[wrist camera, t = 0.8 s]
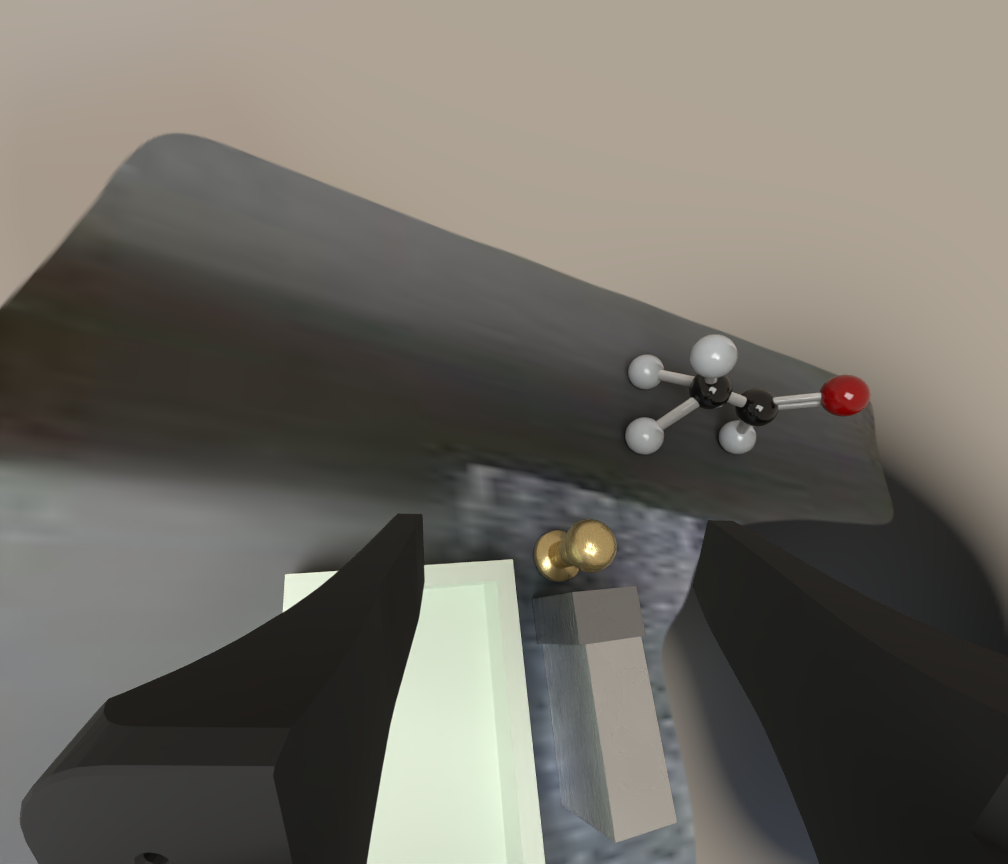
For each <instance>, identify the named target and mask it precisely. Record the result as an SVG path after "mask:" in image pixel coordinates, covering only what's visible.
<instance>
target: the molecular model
mask: <svg viewBox="0 0 1008 864" xmlns="http://www.w3.org/2000/svg"><path fill="white" fill-rule="evenodd" d="M737 355H738V354H737V349H736V346H735V344H734V343H733V342H732V341H731V340H730V339H729V338H727V337H725V336H723V335H717V334H713V335H708V336H705V337H703V338H701V339H700V340H698V341H697V342H696V343H695V345H694V346H693V348H692V350H691V353H690V363H691V366H692V368H693V369H694V371H695V372H696V373H697V374H698V375H696V376H695V377H694V376H689V375H685V374H680V373H675V372H670V371H665V370H664V366H663V364H662V362H661V361H660V360H659V359H658V358H657V357H655V356H653V355H649V354H645V355H640V356H638V357H636V358H635V359H634V360H633V361H632V362H631V364H630V366H629V369H628V376H629V379H630V381H631V383H632V384H633V385H634V386H636V387H637V388H640V389H651V388H654V387H656V386H657V385H658V384H659V383H660V382H661V381H665V382H669V383H674V384H678V385H683V386H687V387H690V388H689V393H690V397H691V398H689V399H688V400H687V401H685V402H684V403H682V404H681V405H679V406H678V407H676V408H675V409H673V410H672V411H670V412H669V413H667V414H666V415H664V416H663V417H661V418H660V419H659V420H657V421H655V420H654V419H651V418H647V417H642V418H638V419H635V420H634V421H632V422H631V423H630V424H629V425H628V427H627V429H626V432H625V440H626V443H627V445H628V446H629V448H630V449H631V450H632V451H634V452H636V453H638V454H642V455H647V454H651V453H654V452H655V451H657V450H658V449H659V448H660V447H661V445H662V443H663V440H664V432H663V430H664V429H666V428H667V427H669V426H670V425H672V424H673V423H675V422H676V421H678V420H679V419H681V418H682V417H684V416H685V415H687V414H688V413H690V412H691V411H693V410H694V409H696V408H697V407H701V408H704V409H716V408H719V407H721V406H723V405H724V404H725V403H726V402H727V403H730V404H732V405H735V410H736V414H737V416H738V418H739V419H740V420H734V421H730V422H728V423H726V424H725V425H724V426H723V427H722V428H721V430H720V432H719V443H720V445H721V446H722V448H723V449H724V450H726V451H727V452H729V453H732V454H743V453H746V452H748V451H749V450H751V449H752V448H753V446H754V445H755V443H756V432H755V430H754V428H753V427H752V426H763V425H766V424H768V423H770V422H771V421H772V420H773V419H774V418H775V417H776V415H777V413H778V410H785V409H797V408H808V407H820V406H822V407H823V408H824V409H825V410H826V411H828V412H829V413H831V414H833V415H837V416H851V415H854V414H857V413H859V412H860V411H862V410H863V409H864V408H865V407H866V406H867V405H868V403H869V400H870V396H871V393H870V389H869V387H868V385H867V384H866V382H865V381H863V380H862V379H860V378H858V377H856V376H853V375H839V376H836V377H833V378H831V379H829V380H828V381H827V382H826V383H825V384H824V385H823V386H822V388H821V390H820V393H811V394H802V395H792V396H783V397H775V396H774V395H773V394H772V393H771V392H769V391H768V390H765V389H761V388H755V389H750V390H747V391H745V392H744V393H743V394H741V395H740V394H737V393H734V392H732V384H731V381H730V379H729V378H728V377H727V376H726V374H727V373H729V372H730V371H731V370H732V369H733V367H734V366H735V364H736V361H737Z"/></svg>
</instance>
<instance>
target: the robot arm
mask: <svg viewBox="0 0 1008 864" xmlns="http://www.w3.org/2000/svg"><path fill="white" fill-rule="evenodd" d="M424 583H425V576H424V547H423V518H422V514H397V515H396V516H395V517H394V518H393V519H392V520H391V521H390V522H389V523H388V524H387V525H386V526H385V527H384V528H383V529H382V530H381V531H380V532H379V533H378V534H377V535H376V536H375V537H374V538H373V539H372V540H371V541H370V542H369V543H368V544H367V545H366V546H365V547H364V548H363V549H362V550H361V551H360V552H359V553H358V554H357V555H355V556H354V557H353V558H352V559H351V560H350V561H349V562H348V563H347V564H346V565H345V566H343V567H342V568H341V569H340V570H339V571H338V572H336V573H335V574H334V575H333V576H332V577H331V578H329V579H328V580H327V581H326V582H325V583H323V584H322V585H321V586H320V587H318V588H317V589H316V590H314V591H313V592H312V593H310V594H309V595H308V596H306V597H305V598H303V599H302V600H301V601H299V602H298V603H296V604H295V605H293V606H292V607H291V608H289V609H287V610H286V611H284V612H283V613H281V614H280V615H278V616H276V617H275V618H273V619H271V620H270V621H268V622H266V623H265V624H263V625H261V626H260V627H258V628H257V629H255V630H253V631H252V632H250V633H248V634H247V635H245V636H243V637H241V638H240V639H238V640H236V641H234V642H232V643H230V644H228V645H227V646H225V647H223V648H221V649H219V650H217V651H215V652H213V653H211V654H209V655H207V656H205V657H203V658H201V659H199V660H197V661H195V662H193V663H191V664H189V665H187V666H184V667H182V668H180V669H178V670H176V671H174V672H171V673H169V674H167V675H164V676H162V677H160V678H157V679H155V680H153V681H150V682H148V683H146V684H143V685H141V686H139V687H136V688H134V689H132V690H129V691H127V692H125V693H122V694H120V695H117V696H114V697H112V698H109V699H108V700H107V701H106V702H105V703H104V704H103V705H102V706H101V707H100V709H99V710H98V711H97V712H96V713H95V714H94V715H93V716H92V718H91V719H90V720H89V721H88V722H87V723H86V724H85V726H84V727H83V728H82V729H81V730H80V731H79V732H78V734H77V735H76V736H75V737H74V738H73V740H72V741H71V742H70V743H69V744H68V745H67V747H66V748H65V749H64V750H63V751H62V752H61V754H60V755H59V756H58V757H57V758H56V759H55V761H54V762H53V763H52V764H51V765H50V766H49V768H48V769H47V770H46V771H45V772H44V773H43V775H42V776H41V777H40V778H39V779H38V780H37V782H36V783H35V784H34V785H33V786H32V788H31V789H30V791H29V792H28V793H27V795H26V796H25V798H24V799H23V801H22V804H21V812H20V825H21V828H22V831H23V834H24V837H25V840H26V842H27V844H28V846H29V848H30V850H31V851H32V853H33V855H34V857H35V858H36V860H37V862H38V864H367V859H368V852H369V846H370V840H371V833H372V827H373V821H374V815H375V809H376V804H377V798H378V792H379V786H380V780H381V774H382V769H383V763H384V757H385V752H386V746H387V741H388V735H389V730H390V725H391V720H392V716H393V712H394V708H395V704H396V700H397V696H398V693H399V689H400V686H401V682H402V678H403V675H404V671H405V668H406V664H407V661H408V657H409V653H410V650H411V646H412V643H413V639H414V635H415V632H416V628H417V624H418V620H419V616H420V609H421V603H422V596H423V589H424ZM693 587H694V590H695V593H696V595H697V598H698V601H699V604H700V606H701V609H702V611H703V614H704V616H705V619H706V621H707V624H708V625H709V627H710V629H711V631H712V633H713V635H714V637H715V639H716V640H717V642H718V644H719V646H720V648H721V650H722V651H723V653H724V655H725V657H726V659H727V660H728V662H729V664H730V666H731V668H732V669H733V671H734V673H735V675H736V677H737V678H738V680H739V682H740V684H741V685H742V687H743V689H744V691H745V693H746V695H747V696H748V698H749V700H750V701H751V703H752V705H753V707H754V709H755V711H756V713H757V715H758V717H759V719H760V721H761V723H762V725H763V727H764V729H765V731H766V733H767V735H768V738H769V740H770V742H771V744H772V747H773V749H774V752H775V754H776V756H777V758H778V761H779V763H780V765H781V768H782V770H783V772H784V775H785V777H786V779H787V782H788V784H789V787H790V789H791V792H792V794H793V797H794V799H795V802H796V804H797V807H798V809H799V811H800V814H801V816H802V819H803V821H804V824H805V826H806V829H807V832H808V834H809V837H810V840H811V842H812V845H813V847H814V850H815V853H816V855H817V858H818V861H819V864H1008V657H1007V656H1004V655H1002V654H999V653H996V652H994V651H991V650H988V649H986V648H983V647H980V646H978V645H975V644H973V643H970V642H968V641H965V640H963V639H961V638H958V637H956V636H953V635H951V634H948V633H946V632H943V631H941V630H938V629H936V628H934V627H931V626H929V625H927V624H924V623H922V622H920V621H918V620H915V619H913V618H911V617H909V616H907V615H905V614H902V613H900V612H898V611H896V610H894V609H892V608H890V607H888V606H885V605H883V604H881V603H879V602H877V601H875V600H873V599H871V598H869V597H867V596H865V595H863V594H861V593H859V592H858V591H856V590H854V589H852V588H850V587H848V586H846V585H845V584H842V583H841V582H839V581H837V580H835V579H833V578H831V577H830V576H828V575H826V574H824V573H822V572H821V571H819V570H817V569H815V568H814V567H812V566H810V565H809V564H807V563H805V562H804V561H802V560H800V559H798V558H797V557H795V556H793V555H792V554H790V553H788V552H787V551H785V550H783V549H782V548H780V547H778V546H776V545H775V544H773V543H771V542H770V541H768V540H766V539H764V538H763V537H761V536H760V535H758V534H756V533H754V532H752V531H751V530H749V529H747V528H745V527H743V526H741V525H739V524H737V523H735V522H733V521H712V520H708V523H707V527H706V531H705V536H704V540H703V544H702V549H701V553H700V558H699V562H698V566H697V571H696V575H695V580H694V584H693Z"/></svg>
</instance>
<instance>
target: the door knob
mask: <svg viewBox="0 0 1008 864" xmlns="http://www.w3.org/2000/svg"><path fill="white" fill-rule="evenodd" d="M616 551H617V543H616V539H615V536H614V534H613V532H612V531H611V529H610V528H609V527H608V526H607V525H605V524H604V523H602V522H600V521H598V520H594V519H585V520H581V521H579V522H577V523H575V524H574V525H572V526H571V527H570V529H569V530H568V532H567V533H566V532H564V531H559V530H556V531H551V532H549V533H546V534H544V535H543V536H541V537H540V538H539V539H538V541H537V542H536V544H535V547H534V552H533V557H534V562H535V565H536V568H537V569H538V571H539V572H540V574H541V575H542V576H543V577H545V578H546V579H548V580H550V581H553V582H562V581H567V580H570V579H572V578H573V577H574V576H575V575H576V574H577V573H578V571H579V570H581V571H584V572H599V571H601V570H604V569H605V568H607V567H608V566H609V565H610V564H611V563H612V561H613V560H614V558H615V555H616Z"/></svg>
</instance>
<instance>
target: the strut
mask: <svg viewBox="0 0 1008 864" xmlns="http://www.w3.org/2000/svg"><path fill="white" fill-rule="evenodd" d="M532 603H533V612H534V620H535V629H536V637H537V644H542V647H543V655H544V663H545V672H546V680H547V688H548V696H549V705H550V713H551V721H552V729H553V738H554V746H555V754H556V762H557V771H558V779H559V787H560V795H561V804H562V806H564V807H565V808H566V809H568V810H569V811H571V812H572V813H574V814H575V815H577V816H578V817H579V818H581V819H582V820H584V821H585V822H587V823H588V824H589V825H591V826H592V827H594V828H595V829H597V830H598V831H600V832H601V833H602V834H604V835H605V836H607V837H608V838H610V839H611V840H612V841H614V842H615V843H617V842H620V841H623V840H626V839H629V838H632V837H635V836H638V835H641V834H644V833H647V832H650V831H653V830H656V829H659V828H662V827H665V826H668V825H671V824H674V823H677V821H676V815H675V810H674V805H673V800H672V795H671V789H670V784H669V779H668V774H667V769H666V763H665V758H664V753H663V748H662V743H661V737H660V732H659V727H658V722H657V717H656V711H655V706H654V701H653V696H652V691H651V685H650V680H649V675H648V670H647V665H646V659H645V654H644V649H643V644H642V639H641V636H646V633H645V628H644V623H643V618H642V613H641V608H640V602H639V597H638V592H637V587H636V586H630V587H620V588H610V589H600V590H590V591H580V592H571V593H565V594H559V595H552V596H546V597H540V598H534V599H532Z"/></svg>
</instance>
